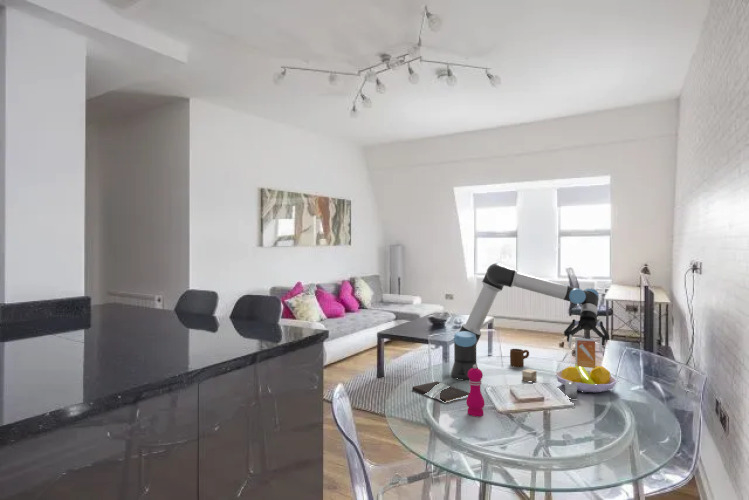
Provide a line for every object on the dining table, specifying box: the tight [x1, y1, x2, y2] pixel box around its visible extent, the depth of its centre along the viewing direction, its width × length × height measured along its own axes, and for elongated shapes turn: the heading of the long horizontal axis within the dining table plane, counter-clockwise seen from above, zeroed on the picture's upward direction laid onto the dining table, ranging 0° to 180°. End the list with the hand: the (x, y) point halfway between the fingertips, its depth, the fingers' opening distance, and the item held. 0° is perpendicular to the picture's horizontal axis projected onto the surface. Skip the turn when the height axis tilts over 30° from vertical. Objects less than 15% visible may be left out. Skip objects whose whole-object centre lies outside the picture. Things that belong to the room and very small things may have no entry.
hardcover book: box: [411, 381, 470, 402], centre depth 196 cm, size 16×23×2 cm
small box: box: [574, 337, 596, 369], centre depth 204 cm, size 8×6×13 cm
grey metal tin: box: [564, 381, 578, 400], centre depth 188 cm, size 5×5×7 cm
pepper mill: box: [465, 364, 485, 417], centre depth 170 cm, size 7×7×20 cm
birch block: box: [521, 368, 538, 382], centre depth 217 cm, size 5×5×5 cm
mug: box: [509, 348, 530, 368], centre depth 248 cm, size 12×8×9 cm, turn 103°
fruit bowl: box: [554, 358, 618, 393], centre depth 204 cm, size 28×27×11 cm
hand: (584, 348), depth 203 cm, fingers open, 13 cm apart
